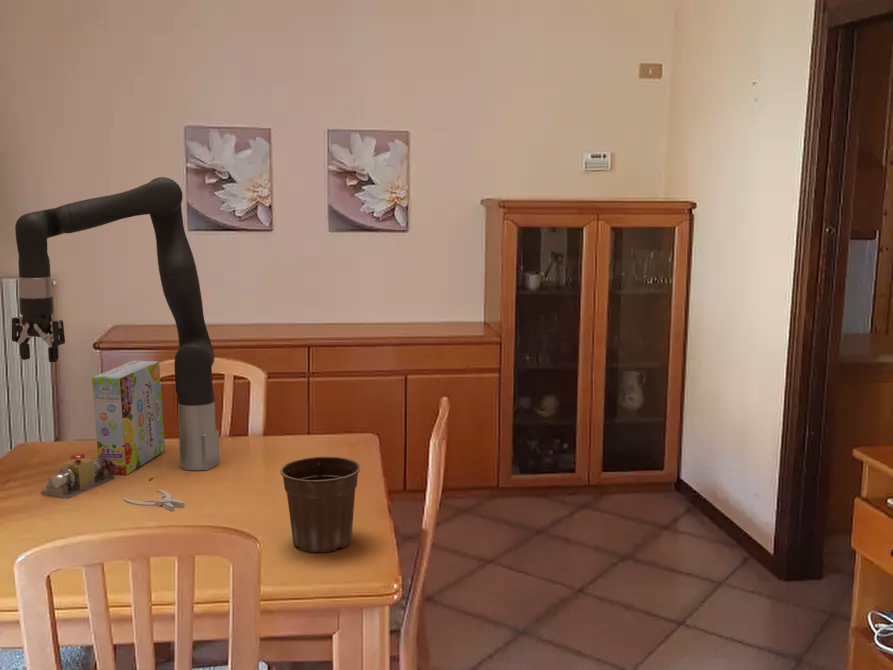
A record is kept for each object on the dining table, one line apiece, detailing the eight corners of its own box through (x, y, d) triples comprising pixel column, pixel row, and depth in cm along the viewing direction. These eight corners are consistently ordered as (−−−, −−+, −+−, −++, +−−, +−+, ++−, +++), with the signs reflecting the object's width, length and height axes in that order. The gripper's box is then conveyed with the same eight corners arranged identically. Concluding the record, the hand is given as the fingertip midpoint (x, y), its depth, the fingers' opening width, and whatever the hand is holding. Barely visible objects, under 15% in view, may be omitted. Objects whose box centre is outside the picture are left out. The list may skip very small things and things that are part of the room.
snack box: (136, 450, 257) (132, 359, 252) (166, 452, 255) (162, 360, 251) (95, 473, 235) (90, 375, 231) (127, 475, 234) (122, 376, 230)
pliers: (159, 485, 223) (196, 498, 214) (159, 491, 223) (196, 505, 214) (122, 495, 215) (159, 510, 206) (122, 502, 216) (159, 516, 206)
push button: (94, 481, 227) (93, 453, 226) (79, 487, 222) (78, 459, 221) (78, 479, 228) (76, 451, 227) (63, 485, 224) (61, 456, 223)
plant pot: (278, 558, 183) (277, 480, 180) (284, 529, 199) (283, 456, 196) (360, 556, 184) (360, 478, 182) (360, 527, 200) (360, 455, 198)
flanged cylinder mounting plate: (88, 475, 234) (87, 453, 233) (114, 478, 231) (113, 456, 231) (41, 494, 219) (39, 471, 219) (67, 498, 217) (66, 475, 216)
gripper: (70, 295, 226) (73, 360, 228) (24, 292, 231) (28, 355, 233) (47, 298, 219) (51, 365, 221) (1, 295, 224) (4, 360, 226)
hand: (39, 360), depth 227 cm, fingers open, 8 cm apart
